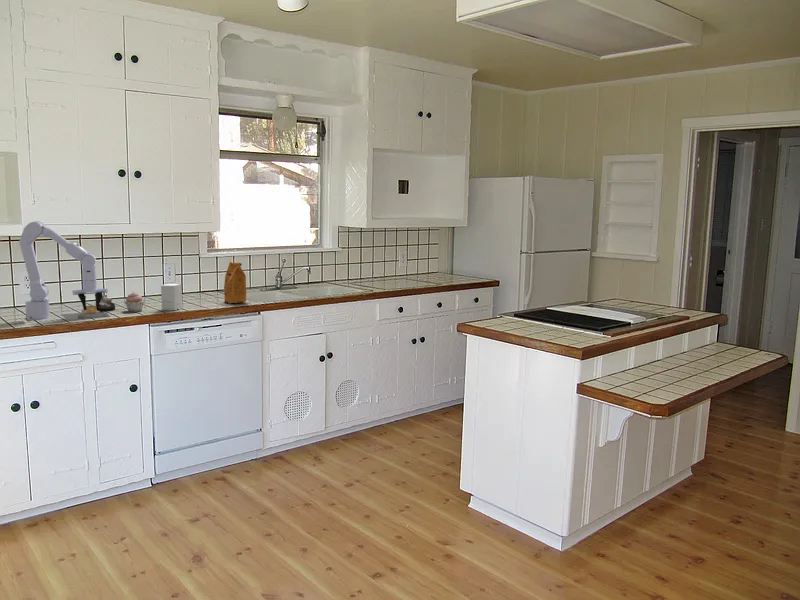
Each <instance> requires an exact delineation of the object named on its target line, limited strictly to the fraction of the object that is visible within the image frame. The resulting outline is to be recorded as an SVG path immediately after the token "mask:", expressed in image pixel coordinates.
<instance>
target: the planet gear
mask: <svg viewBox="0 0 800 600" xmlns="http://www.w3.org/2000/svg"><path fill="white" fill-rule="evenodd" d="M100 312H101V311H97V306H96V305H86V310H85V312H82V311H81V313H82V314H94V313H100Z"/></svg>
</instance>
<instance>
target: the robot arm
mask: <svg viewBox="0 0 800 600" xmlns="http://www.w3.org/2000/svg"><path fill="white" fill-rule="evenodd" d="M40 236H41V237H42V238H49V239H51V240H53V241H54V242H55V243H57V244H58V245H60V246H61V247H63V248H64V249H65V252H66V253H67V255H69V256H70V257H72V258H74V260H76V261H78V262H80V263H81V265H82V270H81V272H82V273H81V274H82V289H75V290H74V289H73V290H72V291H71V292H72V296H78V298H79V300H80V302H81V304H82V307H83V309H84V310H86V306H87V304H86V303H87V302H86V299H87V296H86V295H93V294H94V297H95V306H97V309H98V308H99V303H100V300H101V298H102V296H104V294H108V288H98V287H97V285H98V284H97V270H96V264H95V263H96V262H97V260H96V259H97V258H96V256H95V255H94V254H93V253H91V252H90V251H89V250H86V249H84V248H83V247H81V244H80V243H78V242H77V243H76V242H70V241H68V240H67V239H66V238H64V237H63V236H62V235H60V234H59V233H58V231H57V232H56V230H54V229H52V228H51V227H50V226H48V225H46V224H44V223H43V222H41V221H38V220H35V221H31V222H29V223H28V224H27V225H26V226H24V227H23V230H22V233H21V235H20V238H19V241H18V243H19V246H20V250H21V254H22V257H23V261H24V264H25V269H26V272H27V275H28V278H29V287H30V291H29V297H30V301H29V300H28V301H25V302H24V303H25V304H24V305H25V306H24V307H25V319H26V320H28V321H32V320H48V319H50V318H51V317H50V316H51V314H50V298H48V297H47V296H48V295H49V288H48V286H46V284H45V282H44V280H43V278H42V274H41V270H40V268H39V262H38V259H37V255H36V252H35V248H34V244H33V243H34V242H35V241H36V240H37V239H38V237H40Z"/></svg>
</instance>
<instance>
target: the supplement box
mask: <svg viewBox="0 0 800 600" xmlns="http://www.w3.org/2000/svg"><path fill="white" fill-rule="evenodd" d="M160 293H161V295H160V296H161V297H160V298H161V310H162V311H172V310H176V311H178V310H177V309H179V310H182V309H183V302H182V301H183V299H182V297H183V296H182V284H181V283H180V284H179V283H165V284H161V285H160ZM181 308H182V309H181Z"/></svg>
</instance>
